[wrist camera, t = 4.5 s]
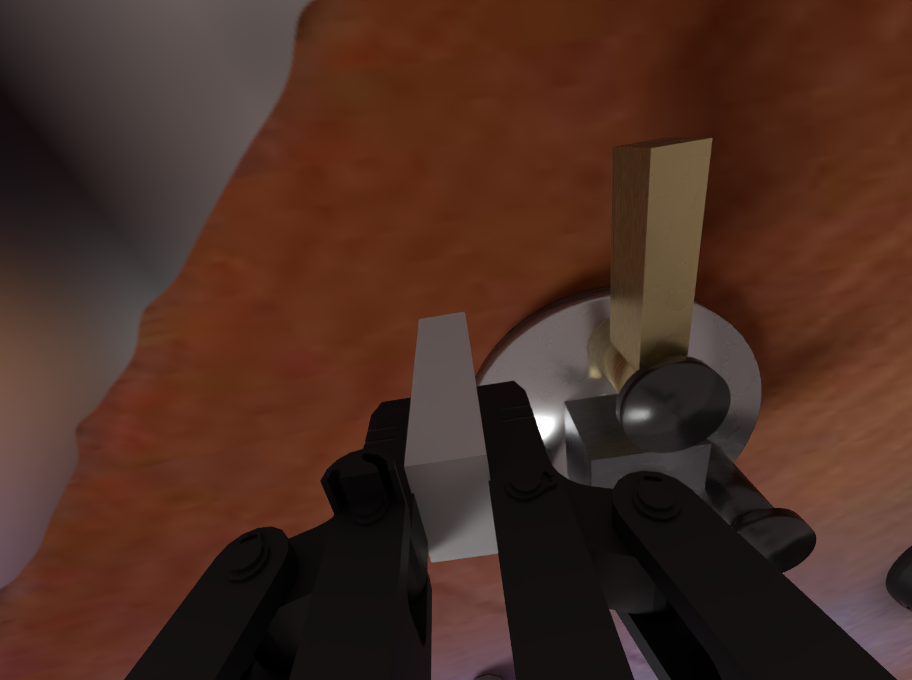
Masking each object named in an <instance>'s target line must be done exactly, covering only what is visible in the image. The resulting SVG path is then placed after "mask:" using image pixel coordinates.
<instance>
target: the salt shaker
mask: <svg viewBox="0 0 912 680" xmlns="http://www.w3.org/2000/svg"><path fill="white" fill-rule="evenodd" d="M474 680H502V678H501V677H497V676H492V675H485V676H481V677H478V678H475V679H474Z"/></svg>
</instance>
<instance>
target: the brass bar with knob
mask: <svg viewBox="0 0 912 680" xmlns="http://www.w3.org/2000/svg"><path fill="white" fill-rule="evenodd" d="M711 147H712V138H661V139H655V140H649V141H644V142H638V143H632V144H626V145H620V146H615V147H613V159H612V224H611V289H610V318H609V319H606V320H604V321H603V322H601V323H600V324H599V325H598V326H596V328H595V329H594V330H593V331H592V333H591V335H590V337H589V341H588V349H589V352H590V355H591V356H592V358H593V359H594V360H595V362H596V363H597V365H598V366H599V368H600V369H601V371H602V372H603V373H604V375H605V376H606V378H607V379H608V381H609V382H610V383H611V385H612V386H613V388H614V389H615V391H616V392H617V394H618V397H617V400H616V407H615V409H616V416H617V419H618V422H619V424H620V425H621V427H622V428H623V430H624V432H625V433H626V435H627V436H628V438H629V439H630V440H631V441H632V442H633V443H634V444H635V445H636V446H638V447H640V448H641V449H644V450H646V451H650V452H656V453H671V452H677V451H681V450H684V449H687V448H690V447H692V446H694V445H696V444H698V443H700V442H702V441H703V440H705V439H706V438H708V437H709V436H710V435H711V434H712V433H714V432H715V431H716V430H717V428H718V427H719V426H720V425H721V424H722V422H723V421H724V419H725V417H726V416H727V413H728V411H729V407H730V402H731V394H730V390H729V387H728V385H727V383H726V381H725V380H724V379H723V378H722V377H721V376H720V375H719V374H718V373H717V372H716V371H714V370H713V369H712V368H711V367H710V366H708V365H707V364H706V363H704V362H703V361H701V360H699V359H696V358H693V357H688V348H689V339H690V330H691V322H692V313H693V304H694V295H695V287H696V278H697V269H698V260H699V252H700V243H701V234H702V225H703V217H704V208H705V199H706V190H707V182H708V173H709V164H710V155H711Z"/></svg>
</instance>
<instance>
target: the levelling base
mask: <svg viewBox="0 0 912 680" xmlns="http://www.w3.org/2000/svg"><path fill="white" fill-rule="evenodd" d="M610 289H611V287H603V288H598V289H593V290H589V291H584V292H581V293H578V294H575V295H572V296H569V297H566V298H563V299H561V300H559V301H556V302H554V303H552V304H550V305H548V306H546V307H544V308H542V309H540V310H539V311H537V312H536V313H534V314H532V315H531V316H529V317H528V318H526V319H525V320H523V321H522V322H521V323H520V324H518V325H517V326H516V327H515V328H513V329H512V330H511V331H510V332H509V333H508V334H507V335H506V336H505V337H504V338H503V339H502V340H501V341H500V342H499V343H498V344H497V345H496V346H495V347H494V349H493V350H492V351H491V353H490V354H489V355H488V357H487V358H486V359H485V361H484V362H483V364H482V366H481V368H480V369H479V371H478V373H477V375H476V377H475V380H476V386H481V385H488V384H494V383H501V382H507V381H515V382H516V383H517V384H518V385H520V386H521V387H522V388H523V389H524V390H526V393H527V396H528V399H529V402H530V406H531V408H532V411H533V414H534V417H535V419H536V422H537V425H538V428H539V431H540V434H541V437H542V440H543V443H544V445H545V448H546V451H547V454H548V457H549V460H550V462H551V464H552V465H553V467H554V468H555V469H556V470H557V471H558V472H559V473H560V474H561V475H563V476H564V477H566V478H567V479H569V480H572V481H574V482H576V483H579V484H584V485H588V486H595V487H603V488H611V489H613V488H614V486H615V485H616V483H617V481H618V480H619V479H620V478H622V477H624V476H625V475H627V474H629V473H633V472H639V471H652V472H660V473H663V474H666V475H668V476H671V477H674V478H676V479H678V480H679V481H681V482H682V483H684V484H685V485H686V486H688V487H689V488H691V489H692V490H693V491H694V492H695V493H696V494H697V495H698V496H699V497H700V498H701V499H703V500H704V501H705V502H706V503H707V504H708V505H709V506H710V507H711V508H712V509H713V510H714V511H715V512H717V513H718V514H719V515H720V516H721V517H722V518H723V519H724V520H725V521H726V522H727V523H728V524H730V525H731V526H732V527H733V528H734V529H735V530H736V531H737V532H738V533H739V534H740V535H741V536H742V537H744V538H745V539H746V540H747V541H748V542H749V543H750V544H751V545H752V546H753V547H754V548H755V549H756V550H758V551H759V552H760V553H761V554H762V555H763V556H764V557H765V558H766V559H767V560H768V561H769V562H771V563H772V564H773V565H774V566H775V567H776V568H777V569H778V570H779V571H780V572H781V573H783V572H786V571H788V570H790V569H792V568H794V567H795V566H797V565H798V564H800V563H801V562H803V561H804V560H805V559H806V558H807V557H808V556H809V555H810V554H811V552H812V551H813V549H814V547H815V544H816V535H815V532H814V531H813V530H812V528H811V527H810V526H809V525H808V524H807V523H806V522H805V521H804V520H803V519H802V518H801V517H800V516H799V515H798V514H797V513H795V512H794V511H791V510H789V509H784V508H774V507H773V506H772V505H771V504H770V503H769V502H768V501H767V500H766V498H765V497H764V496H763V495H762V494H761V493H760V492H759V491H758V490H757V488H756V487H755V486H754V485H753V484H752V483H751V482H750V481H749V480H748V479H747V477H746V476H745V475H744V474H743V473H742V472H741V471H740V470H739V469H738V467H737V466H736V465H735V464H734V461H735V460H736V459H737V458H738V456H739V455H740V453H741V452H742V450H743V449H744V447H745V445H746V444H747V442H748V440H749V438H750V436H751V434H752V431H753V429H754V427H755V424H756V421H757V417H758V414H759V410H760V403H761V378H760V373H759V368H758V364H757V362H756V359H755V357H754V355H753V352H752V350H751V348H750V347H749V345H748V344H747V342H746V341H745V339H744V338H743V336H742V335H741V334H740V333H739V332H738V331H737V330H736V329H735V328H734V327H733V326H732V325H731V324H730V323H728V322H727V321H725V320H724V319H723V318H721V317H720V316H718V315H717V314H716V313H714V312H712V311H711V310H709V309H708V308H706V307H705V306H703V305H701V304H700V303H698V302H696V301H694V304H693V313H692V322H691V330H690V339H689V348H688V357H693V358H696V359H699V360H701V361H703V362H704V363H706V364H707V365H708V366H710V367H711V368H712V369H713V370H714V371H716V372H717V373H718V374H719V375H720V376H721V377H722V378H723V379H724V380H725V381H726V383H727V385H728V387H729V390H730V394H731V402H730V407H729V411H728V413H727V416H726V417H725V419H724V421H723V422H722V424H721V425H720V426H719V427H718V428H717V430H716V431H715V432H714V433H712V434H711V435H710V436H709V437H708V438H706V439H705V440H703V441H702V442H700V443H698V444H696V445H694V446H692V447H690V448H687V449H684V450H681V451H677V452H671V453H656V452H650V451H646V450H644V449H641V448H640V447H638V446H636V445H635V444H634V443H633V442H632V441H631V440H630V439H629V438H628V436H627V435H626V433H625V432H624V430H623V428H622V427H621V425H620V424H619V422H618V419H617V416H616V409H615V407H616V400H617V397H618V394H617V392H616V391H615V389H614V388H613V386H612V385H611V383H610V382H609V381H608V379H607V378H606V376H605V375H604V373H603V372H602V371H601V369H600V368H599V366H598V365H597V363H596V362H595V360H594V359H593V358H592V356H591V355H590V352H589V349H588V341H589V337H590V335H591V333H592V331H593V330H594V329H595V328H596V326H598V325H599V324H600V323H601V322H603V321H604V320H606V319H609V318H610Z"/></svg>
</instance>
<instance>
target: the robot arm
mask: <svg viewBox="0 0 912 680" xmlns="http://www.w3.org/2000/svg"><path fill="white" fill-rule="evenodd" d="M321 484H322V486H323V488H324V491H325V493H326V495H327V498H328V500H329V502H330V505H331V507H332V510H333V512H334V516H333V517H332V518H331V519H330V520H328V521H327V522H325V523H323V524H321V525H319V526H317V527H315V528H313V529H310V530H308V531H306V532H303V533H301V534H299V535H296V536H294V537H292V538H289V539H288V537H287V536H286V535H285V533H284V532H283V531H282V530H281V529H278V528H274V527H263V528H257V529H254V530H252V531H250V532H247V533H245V534H243V535H241V536H240V537H238V538H237V539H235V540H234V541H232V542H231V543H230V544H228V545H227V546H226V547H225V548H224V550H223V551H222V552H221V553H220V554H219V555H218V556H217V557H216V558H215V559H214V561H213V562H212V563H211V565H210V566H209V567H208V569H207V570H206V571H205V573H204V574H203V575H202V577H201V578H200V579H199V581H198V582H197V583H196V585H195V586H194V587H193V589H192V590H191V591H190V593H189V594H188V595H187V597H186V598H185V599H184V601H183V602H182V603H181V605H180V606H179V607H178V609H177V610H176V611H175V613H174V614H173V615H172V617H171V618H170V619H169V621H168V622H167V623H166V625H165V626H164V627H163V629H162V630H161V631H160V633H159V634H158V635H157V637H156V638H155V639H154V641H153V642H152V643H151V645H150V646H149V647H148V649H147V650H146V651H145V653H144V654H143V655H142V657H141V658H140V659H139V661H138V662H137V663H136V665H135V666H134V667H133V669H132V670H131V671H130V673H129V674H128V675H127V677H126V678H125V679H124V680H431V632H432V588H431V583H430V578H429V575H428V572H427V563H428V552H429V555H430V559H431V562H439V561H447V560H454V559H461V558H468V557H475V556H483V555H490V554H497V553H498V555H499V562H500V569H501V576H502V583H503V590H504V597H505V604H506V611H507V618H508V625H509V633H510V640H511V647H512V654H513V661H514V668H515V675H516V680H634V677H633V675H632V672H631V669H630V666H629V664H628V661H627V658H626V655H625V652H624V650H623V647H622V644H621V641H620V638H619V636H618V633H617V630H616V627H615V625H614V622H613V619H612V616H611V613H610V611H609V609H613V610H616V612H617V614H618V616H619V617H620V619H621V620H622V622H623V624H624V625H625V627H626V628H627V630H628V632H629V633H630V635H631V636H632V638H633V640H634V641H635V643H636V644H637V646H638V648H639V649H640V651H641V652H642V654H643V656H644V657H645V659H646V660H647V662H648V664H649V665H650V667H651V668H652V670H653V672H654V673H655V675H656V676H657V678H658V680H897V679H896V678H895V677H893V676H892V675H891V674H890V673H889V672H888V671H887V670H886V669H885V668H884V667H883V666H882V665H881V664H879V663H878V662H877V661H876V660H875V659H874V658H873V657H872V656H871V655H870V654H869V653H868V652H867V651H865V650H864V649H863V648H862V647H861V646H860V645H859V644H858V643H857V642H856V641H855V640H854V639H852V638H851V637H850V636H849V635H848V634H847V633H846V632H845V631H844V630H843V629H842V628H841V627H840V626H838V625H837V624H836V623H835V622H834V621H833V620H832V619H831V618H830V617H829V616H828V615H827V614H826V613H824V612H823V611H822V610H821V609H820V608H819V607H818V606H817V605H816V604H815V603H814V602H813V601H811V600H810V599H809V598H808V597H807V596H806V595H805V594H804V593H803V592H802V591H801V590H800V589H799V588H797V587H796V586H795V585H794V584H793V583H792V582H791V581H790V580H789V579H788V578H787V577H786V576H785V575H783V574H782V573H781V572H780V571H779V570H778V569H777V568H776V567H775V566H774V565H773V564H772V563H771V562H769V561H768V560H767V559H766V558H765V557H764V556H763V555H762V554H761V553H760V552H759V551H758V550H756V549H755V548H754V547H753V546H752V545H751V544H750V543H749V542H748V541H747V540H746V539H745V538H744V537H742V536H741V535H740V534H739V533H738V532H737V531H736V530H735V529H734V528H733V527H732V526H731V525H730V524H728V523H727V522H726V521H725V520H724V519H723V518H722V517H721V516H720V515H719V514H718V513H717V512H715V511H714V510H713V509H712V508H711V507H710V506H709V505H708V504H707V503H706V502H705V501H704V500H703V499H701V498H700V497H699V496H698V495H697V494H696V493H695V492H694V491H693V490H692V489H691V488H689V487H688V486H686V485H685V484H684V483H682V482H681V481H679V480H678V479H676V478H674V477H671V476H668V475H666V474H663V473H660V472H652V471H639V472H633V473H629V474H627V475H625V476H624V477H622V478H620V479H619V480H618V481H617V483H616V485H615V486H614V488H613V489H611V488H603V487H595V486H588V485H584V484H579V483H576V482H574V481H572V480H569V479H567V478H566V477H564V476H563V475H561V474H560V473H559V472H558V471H557V470H556V469H555V468H554V467H553V465H552V464H551V462H550V460H549V457H548V454H547V451H546V448H545V445H544V443H543V440H542V437H541V434H540V431H539V428H538V425H537V422H536V419H535V417H534V414H533V411H532V408H531V406H530V402H529V399H528V396H527V393H526V390H524V389H523V388H522V387H521V386H520V385H518V384H517V383H516V382H515V381H507V382H501V383H494V384H488V385H481V386H476V380H475V373H474V367H473V361H472V355H471V348H470V342H469V336H468V329H467V323H466V317H465V312H461V313H454V314H448V315H442V316H436V317H429V318H423V319H419V325H418V335H417V345H416V355H415V364H414V374H413V384H412V393H411V398H406V399H399V400H393V401H386V402H382V403H381V404H380V405H379V406H378V408H377V409H376V410H375V411H374V413H373V414H372V415H371V419H370V423H369V427H368V432H367V436H366V440H365V444H364V448H363V449H362V450H358V451H355V452H351V453H349V454H347V455H345V456H343V457H342V458H340V459H338V460H337V461H336V462H334V463H333V464H332V465H331V466H330V467H329V468H328V469H327V470H326V472H325V474H324V475H323V477H322V479H321ZM886 588H887V591H888V593H889V594H890V595H891V596H892V597H893V598H894V599H895V600H896V601H897V602H898V603H899V604H901V605H902V606H903V607H905V608H907V609H908V610H910V611H912V546H911V547H909V548H908V549H907V550H906V551H905V552H904V553H903V554H902V555H901V556H900V557H899V558H898V559H897V560H896V561H895V562H894V564H893V565H892V567H891V568H890V570H889V572H888V574H887V578H886Z"/></svg>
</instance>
